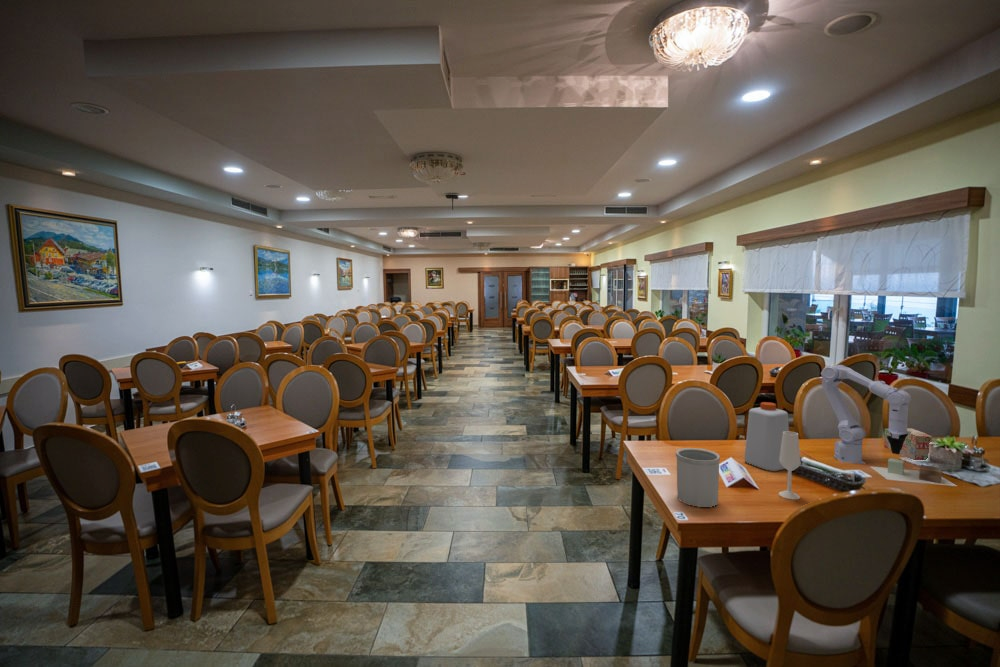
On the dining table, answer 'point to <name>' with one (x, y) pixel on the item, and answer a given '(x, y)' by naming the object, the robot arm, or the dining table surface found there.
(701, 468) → the utensil holder
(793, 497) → the champagne flute
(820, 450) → the dining table surface
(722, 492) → the dining table surface
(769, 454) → the plastic bottle
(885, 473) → the white flat sheet
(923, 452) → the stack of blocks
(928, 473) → the walnut base block
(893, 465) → the green block
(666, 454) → the dining table surface
